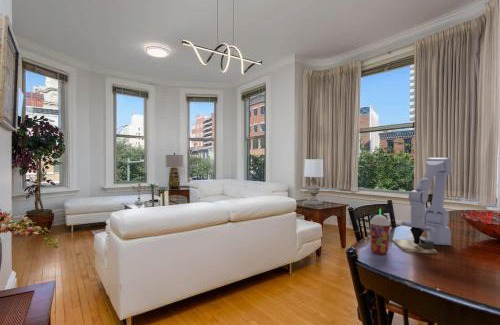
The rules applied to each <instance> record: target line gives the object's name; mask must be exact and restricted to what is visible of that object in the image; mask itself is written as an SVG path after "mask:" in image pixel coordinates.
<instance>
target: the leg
mask: <svg viewBox="0 0 500 325" xmlns="http://www.w3.org/2000/svg"><path fill="white" fill-rule="evenodd" d="M419 244H420V245H421V246H422V247H424V248H428V249H434V248H435V246H434V245H435V244H434V242H432V241H430V240H428V239H427V238H426V237H424V236H422V235H421V236H420V241H419Z"/></svg>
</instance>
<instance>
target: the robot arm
mask: <svg viewBox="0 0 500 325" xmlns="http://www.w3.org/2000/svg"><path fill="white" fill-rule="evenodd" d="M452 162H453V161H452V160H451V158H450V157H448V156H447V157H428V158H427V159H426V161H425V168H426V170H425V172H424V175H423V177H422V178H420V179H419V180H418V181H417V184H416V185H415V187H414V189H412V190H411V191H409V193H408V200H409V205H410V221H405V220H404V221H402V220H401V221H400V222H401V224H400V225H401V226H404V227H409V228H410V232H411V234H412V236H413V240H414V243H415V244H419V241H420V236H422V234H423V233H424V232H427V234H426V235H427V236H426V237H427V238H426V239H428V240H430V241H432V242H434V245H441V246H442V245H443V246H452V242H451V239H452V238H451V236H452V235H451V234H452V233H451V228H450V227H449V226H448V224H449V222H450V216H449V215H450V212H449V211H448V210H447V209H446V208H444V201H445V193H446V187H447V186H446V185H447V178H448V176H450V175H451V172H452V167H453V163H452ZM433 179H434V184H433V183H432V181H433ZM432 186H433V191H432V192H433V193H432V199H431V205H429V206H428V207H426V203H427V202H428V199H429V195H430V194H429V192H430V190H431V188H432ZM425 223H426V224H425Z"/></svg>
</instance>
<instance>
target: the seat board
mask: <svg viewBox="0 0 500 325" xmlns="http://www.w3.org/2000/svg"><path fill="white" fill-rule="evenodd" d="M391 243H393V244H394V243H395V246H397V247H398V249H400V250H401V251H403V252H407V253H409V252H410V253H419V254H420V253H421V254H434V255H435V254H438V251H437V250H436V249H428V248H424V247H422V246H421V245H420V244H415V243H414V239H399V238H391Z"/></svg>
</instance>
